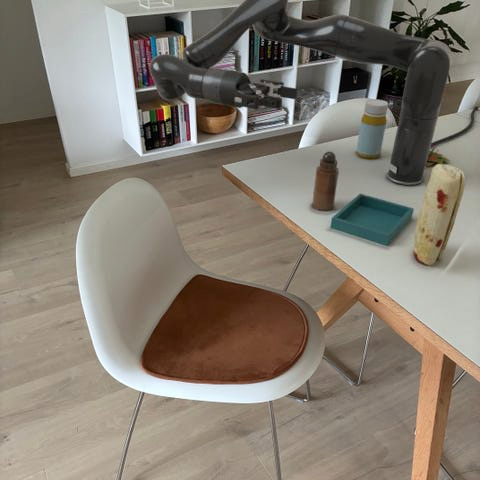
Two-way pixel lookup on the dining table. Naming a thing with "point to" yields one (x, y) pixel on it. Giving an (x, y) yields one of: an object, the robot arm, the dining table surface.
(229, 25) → the robot arm
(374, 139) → the bottle
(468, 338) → the dining table surface
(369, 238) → the tray
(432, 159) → the lily flower
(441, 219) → the food model
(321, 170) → the pepper mill
